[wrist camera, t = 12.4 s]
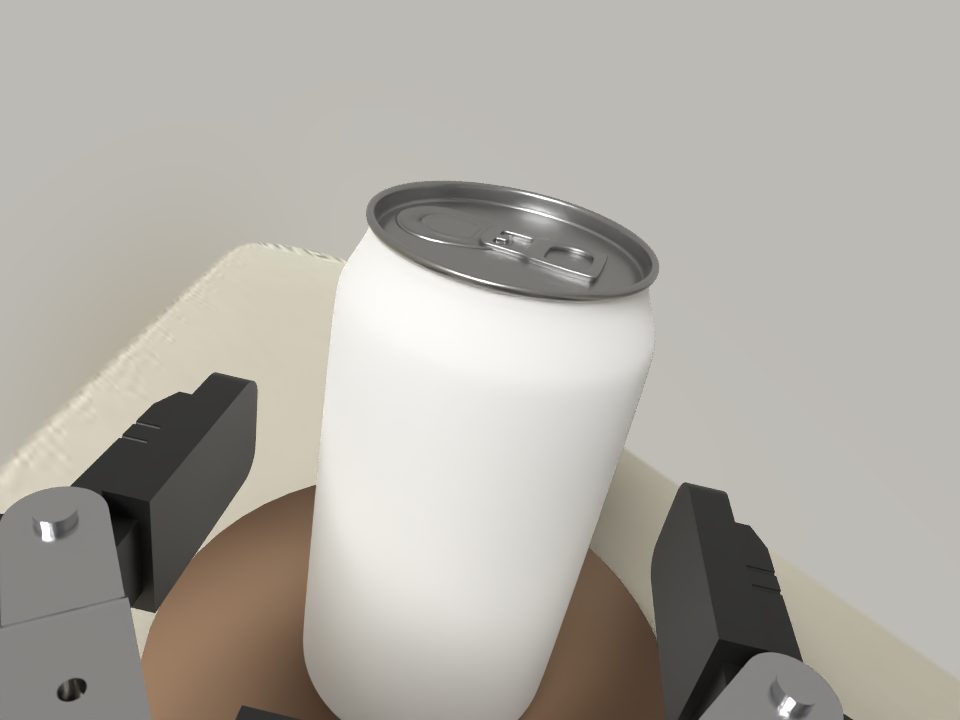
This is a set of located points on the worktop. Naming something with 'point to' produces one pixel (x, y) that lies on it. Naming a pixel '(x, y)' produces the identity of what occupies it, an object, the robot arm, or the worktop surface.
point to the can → (467, 444)
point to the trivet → (280, 624)
